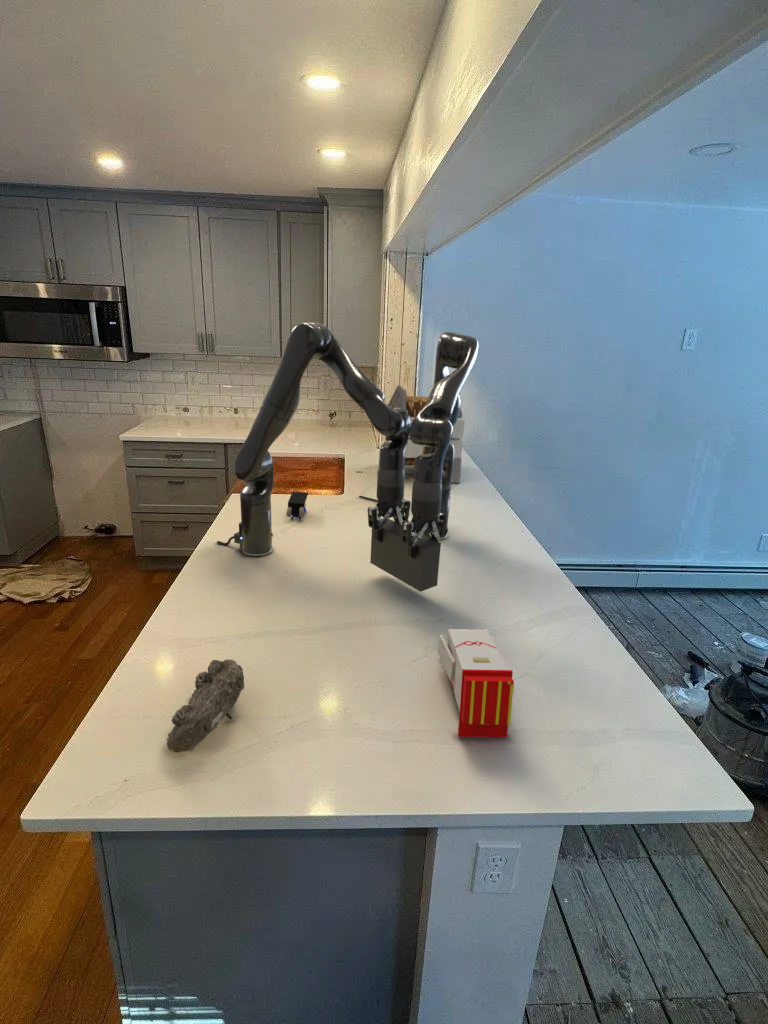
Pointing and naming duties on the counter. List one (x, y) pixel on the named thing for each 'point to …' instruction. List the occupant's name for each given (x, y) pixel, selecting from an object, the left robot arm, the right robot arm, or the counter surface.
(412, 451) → the transformer
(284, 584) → the counter surface
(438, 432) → the right robot arm
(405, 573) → the box
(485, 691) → the toy
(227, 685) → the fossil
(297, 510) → the figurine character
